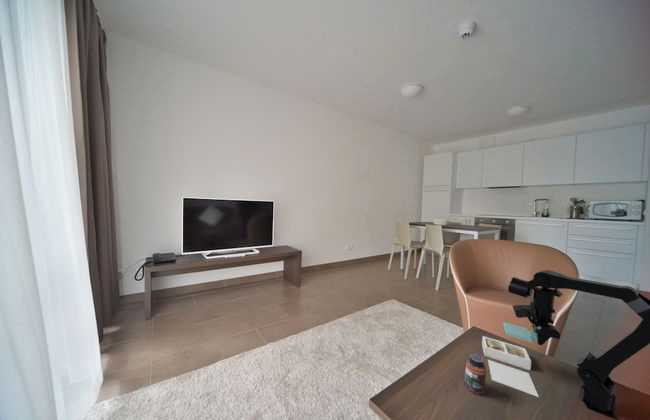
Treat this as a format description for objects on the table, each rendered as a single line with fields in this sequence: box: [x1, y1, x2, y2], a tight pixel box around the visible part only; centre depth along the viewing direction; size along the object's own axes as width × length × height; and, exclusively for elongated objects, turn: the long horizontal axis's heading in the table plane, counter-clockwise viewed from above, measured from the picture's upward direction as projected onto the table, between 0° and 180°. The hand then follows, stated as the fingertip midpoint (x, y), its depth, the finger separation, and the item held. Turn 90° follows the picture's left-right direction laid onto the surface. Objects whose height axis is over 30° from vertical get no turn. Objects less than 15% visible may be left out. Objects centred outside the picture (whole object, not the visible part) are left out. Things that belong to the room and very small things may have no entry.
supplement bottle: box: [464, 353, 487, 395], centre depth 79 cm, size 6×6×11 cm
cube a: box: [512, 348, 524, 358], centre depth 96 cm, size 3×3×3 cm
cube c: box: [487, 340, 503, 352], centre depth 98 cm, size 4×4×4 cm
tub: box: [481, 335, 532, 371], centre depth 96 cm, size 15×9×4 cm, turn 60°
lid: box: [502, 321, 538, 344], centre depth 89 cm, size 12×9×2 cm
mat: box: [487, 359, 539, 398], centre depth 85 cm, size 13×12×1 cm
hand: (538, 342), depth 87 cm, fingers closed on lid, 3 cm apart
